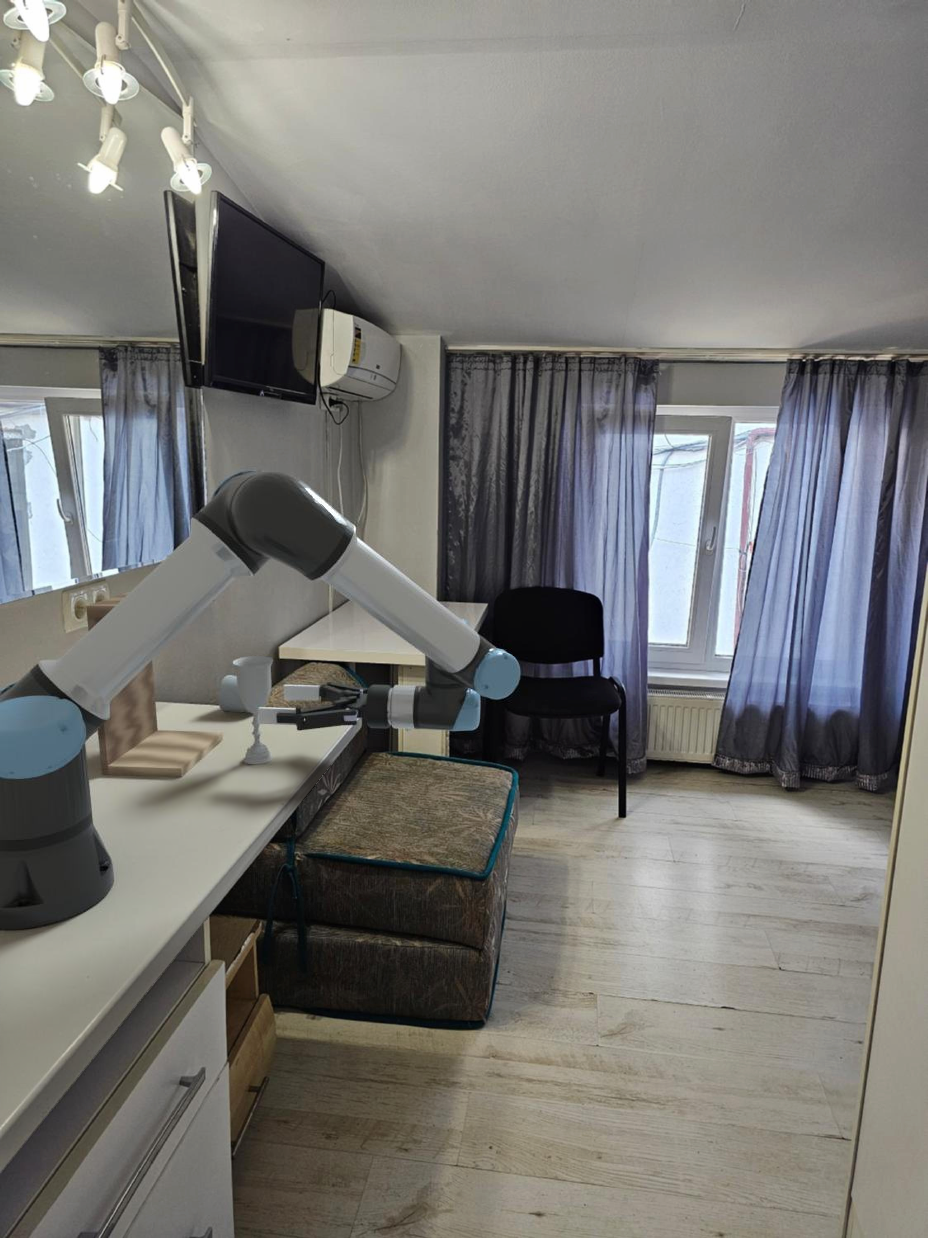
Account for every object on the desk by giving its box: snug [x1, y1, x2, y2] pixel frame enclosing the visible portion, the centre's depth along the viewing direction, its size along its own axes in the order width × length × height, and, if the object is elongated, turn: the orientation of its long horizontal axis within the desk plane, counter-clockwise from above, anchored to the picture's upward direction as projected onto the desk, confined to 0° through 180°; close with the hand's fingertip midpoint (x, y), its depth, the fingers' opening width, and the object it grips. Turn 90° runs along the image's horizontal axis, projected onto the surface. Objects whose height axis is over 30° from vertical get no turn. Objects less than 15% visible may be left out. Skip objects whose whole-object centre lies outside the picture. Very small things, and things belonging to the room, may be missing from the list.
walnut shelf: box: [85, 591, 224, 778], centre depth 135 cm, size 18×14×29 cm
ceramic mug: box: [217, 674, 252, 714], centre depth 164 cm, size 11×8×8 cm
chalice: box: [232, 655, 274, 765], centre depth 135 cm, size 7×7×18 cm
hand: (272, 703), depth 135 cm, fingers open, 13 cm apart
